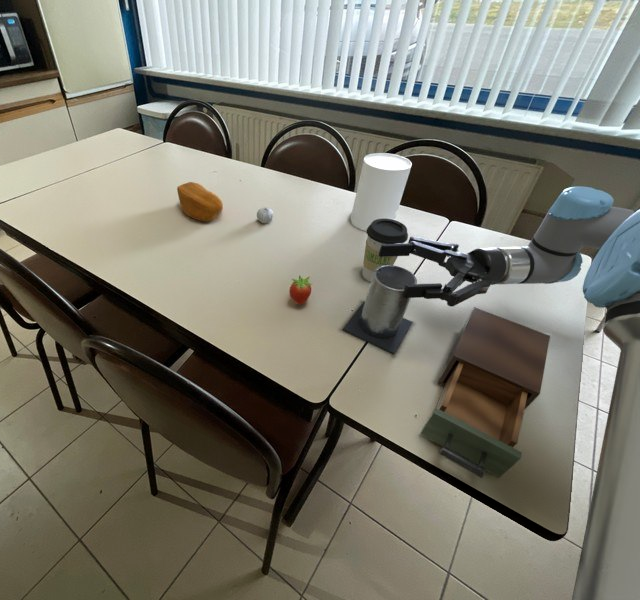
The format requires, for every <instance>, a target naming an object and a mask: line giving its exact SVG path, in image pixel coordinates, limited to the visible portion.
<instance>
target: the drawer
mask: <svg viewBox="0 0 640 600" xmlns="http://www.w3.org/2000/svg"><path fill="white" fill-rule="evenodd" d="M527 394H528V392H527V391H524V390H522V389H520V388H518V387H516V386H513V385H511V384H509V383H507V382H504V381H502V380H500V379H498V378H495V377H493V376H491V375H489V374H487V373H484V372H482V371H480V370H478V369H475V368H473V367H471V366H469V365H466V364H464V363H462V362H460V361H458V363H457V364H456V366H455V368H454V369H453V371H452V372H451V374H450V376H449V377H448V380H447V382H446V385H445V387H444V386H443V390H442V392H441V395H440V397H439V400H438V402H437V405H436V406H435V408H434V410H433V411H432V412H431V414H430V416H429V417H428V419H427V420H426V422H425V424H424V425H423V427H422V428H421V431H420V435H422V436H423V437H424V438H427V439H429V440H431V441H432V442H434V443H436V444H438V445H439V446H441V448H440V451H439V455H441V456H442V457H443V458H446V459H448V460H449V461H451V462H453V463H455V464H456V465H458V466H460V467H462V468H464V469H466V470H467V471H468V472H470V473H472V474H473V475H475V476H477V477H479V478H482V477H484V475H485V473H486V472H488V473H489V474H492V476H495V477H497V478H498V479H499V478H501V477H502V476H503V475H504V474H505V473H506V472H507V471H509V470H510V469H511V468H512V467H514V465H516V463H518V462H519V461H520V460H521V459H522V456H523V455H522V454H523V452H522V451H521V450H518V449H516V448H514V447H516V445H518V442H519V438H520V433H521V429H522V423H523V419H524V415H525V410H526V409H525V404H526V399H527ZM524 409H525V410H524Z"/></svg>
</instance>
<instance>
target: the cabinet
mask: <svg viewBox="0 0 640 600" xmlns="http://www.w3.org/2000/svg"><path fill="white" fill-rule="evenodd" d="M550 339H551V335H549V334H547V333H544V332H542V331H539V330H537V329H533V328H531V327H528V326H526V325H523V324H521V323H518V322H515V321H512V320H510V319H507V318H504V317H502V316H500V315H496V314H494V313H491V312H489V311H487V310H483V309H481V308H478V307H475V306H474V307H473V308H472V309H471V311H470V313H469V314H468V317H467V318H466V320H465V322H464V323H463V325H462V327H461V329H460V330H459V332H458V334H457V336H456V339H455V341H454V344H453V346H452V347H451V350H450V353H449V354H448V357H447V360H446V362H445V364H444V366H443V369H442V372H441V373H440V375H439V377H438V380H437V382H436V383H437V384H438V385H440V386H442V387H443V388H444V387H445V385H446V382H447V380H448V377H449V376H450V374H451V372H452V371H453V369H454V368H455V366H456V364H457V363H458V361H460V362H462V363H464V364H466V365H469V366H471V367H473V368H475V369H478V370H480V371H482V372H484V373H487V374H489V375H491V376H493V377H495V378H498V379H500V380H502V381H504V382H507V383H509V384H511V385H513V386H516V387H518V388H520V389H522V390H524V391H527V392H528V394H527V399H526V404H525V409H524V411H526V409H527V408H528V407H529V406H531V404H532V403H533V402H534V401H535V400H537V398H538V397H539V396H540V395H541V390H542V384H543V379H544V373H545V367H546V361H547V355H548V350H549V344H550Z"/></svg>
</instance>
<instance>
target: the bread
mask: <svg viewBox="0 0 640 600" xmlns="http://www.w3.org/2000/svg"><path fill="white" fill-rule="evenodd" d="M176 190H177V196H178V200H179V204H180V208H181V210H182V211H183V212H184V214H186V215H187V216H189V217H190V218H192V219H195V220H197V221H200V222H204V223H205V222H213V220H215V219H216V218H217V217H218V216H219V215H220V214H221V213H222V212H223V210H224V207H223V201H222V200H221V198H220V197H219V196H218V195H216V194H215V193H213V192H212V191H210V190H208V189H206V188H205V187H204V186H203V185H202V184H200V183H198V182H192V181H189V182H186V183H183V184H180V185H178V186H177V187H176Z"/></svg>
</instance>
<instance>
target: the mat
mask: <svg viewBox="0 0 640 600" xmlns="http://www.w3.org/2000/svg"><path fill="white" fill-rule="evenodd" d="M365 301H366V300H365ZM365 301H362V303H361V304H360V305H359V307H358V308H357V310H355V312H353V314H352V316H351V317H350V318H349V320H348V321H347V323H346V324H345V325H344V326H343V328H342V331H343V332H345V333H346V334H349V335H351V336H353V337H355V338H357V339H360V340H361V341H364V342H366V343H368V344H370V345H372V346H374V347H377V348H378V349H381V350H383V351H385V352H386V353H389V354H391V355H395V354H396V352H397V350H398V348H399V347H400V345H401V343H402V342H403V340H404V338H405V337H406V335H407V333H408V331H409V329H410V328H411V326H412V324H413V321H412V320H409V319H407V318H405V317H403V319H402V321H401V324H400V326H399V329H398V331H397V333H396V334H395V335H394V336H393V337H391V338H386V339H381V338H376V337H373V336H371V335H369V334H367V333H366V332H365V331H364V330H363V329H362V328H361V326H360V323H359V321H360V317H361V314H362V311H363V307H364V304H365Z"/></svg>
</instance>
